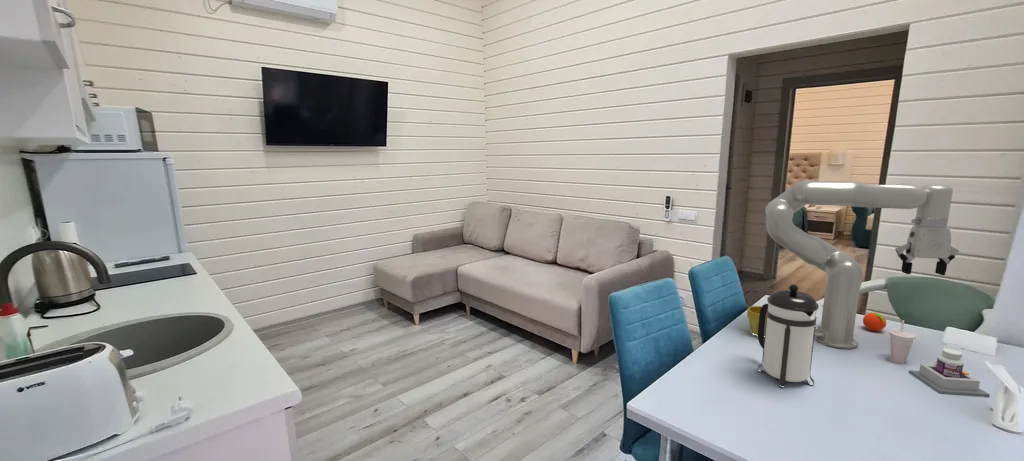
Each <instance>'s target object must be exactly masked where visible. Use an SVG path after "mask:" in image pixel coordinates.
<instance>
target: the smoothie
mask: <svg viewBox="0 0 1024 461" xmlns="http://www.w3.org/2000/svg"><path fill="white" fill-rule="evenodd" d="M904 325H905V320H904V319H902V320H901V325H900V326H901V327H900V329H891V330H889V333H888V334H889V336H890V337H889V339H890V340H889V342H890V344H889V345H890V361H892V362H894V363H897V364H902V365H903V364H907V360H908V358H909V355H910V351H911V349H912V345H913V343H914V341H915V340H916V335H915V334H913V333H911V332H910V331H909V332H908V331H905V330H904V328H905V327H904Z"/></svg>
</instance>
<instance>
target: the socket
mask: <svg viewBox="0 0 1024 461" xmlns="http://www.w3.org/2000/svg"><path fill="white" fill-rule="evenodd" d="M936 364H937V363H934V364H924V363H920V365H919V370H912V369H909V370H908V373H909V374H910V375H911V376H913V377H914V378H916V379H918V380H919V381H920V382H922V383H923V384H924V385H927V386H928V387H930V388H931V389H932V390H934V391H935V392H937V393H938V394H942V395H952V396H953V395H954V396H955V395H956V396H966V397H980V396H985V397H984V398H990V396H991V394H990V393H988V392H986V391H984V390H983V389H981V388H980V385H981V384H980V383H981V381H980V380H979V379H977V378H975V377H973V376H972V375H970V373H968V372H967V371H965V370H962V375H961V378H951V377H944V376H943V375H941V374H939V373H938V372H936V371H935V369H936Z"/></svg>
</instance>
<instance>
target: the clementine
mask: <svg viewBox="0 0 1024 461" xmlns="http://www.w3.org/2000/svg"><path fill="white" fill-rule="evenodd" d="M862 324H863V325H864V327H865V328H867V329H868V330H870V331H873V332H879V331H883V330H884V329H885V327H886V326H887V321H886V318H885V317H884V316H883V315H882V314H880V313H878V312H869V313H867V314H865V315H864V316H863V318H862Z"/></svg>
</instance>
